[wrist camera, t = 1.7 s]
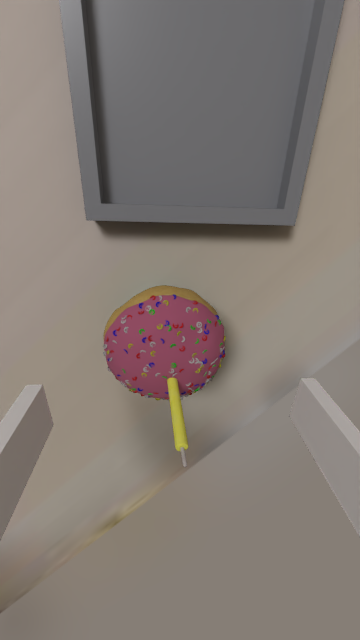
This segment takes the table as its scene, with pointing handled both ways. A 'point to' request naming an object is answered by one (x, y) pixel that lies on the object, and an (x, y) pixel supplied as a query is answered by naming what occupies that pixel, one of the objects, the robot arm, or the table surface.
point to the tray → (197, 105)
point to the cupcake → (165, 348)
